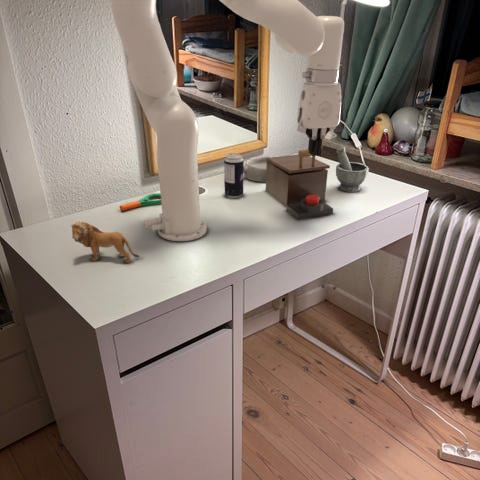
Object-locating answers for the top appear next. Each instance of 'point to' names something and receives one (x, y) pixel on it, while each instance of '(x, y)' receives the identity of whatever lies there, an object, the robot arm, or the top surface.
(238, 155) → the beverage can
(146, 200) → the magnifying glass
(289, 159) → the wooden box lid
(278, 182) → the brown open box
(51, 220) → the top surface
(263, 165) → the dish
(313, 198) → the button
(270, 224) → the top surface
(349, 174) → the mortar and pestle
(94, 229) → the lion figurine
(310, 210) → the control block
